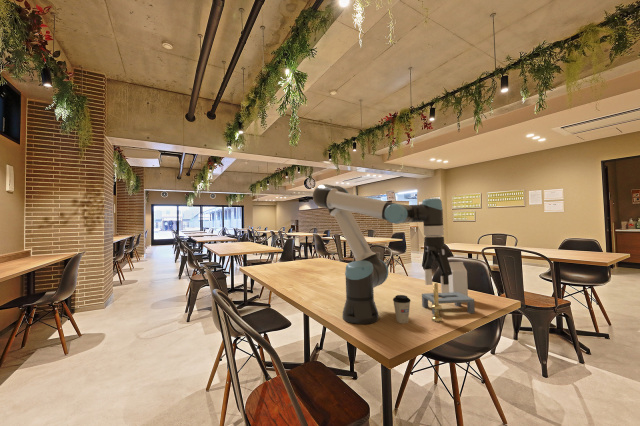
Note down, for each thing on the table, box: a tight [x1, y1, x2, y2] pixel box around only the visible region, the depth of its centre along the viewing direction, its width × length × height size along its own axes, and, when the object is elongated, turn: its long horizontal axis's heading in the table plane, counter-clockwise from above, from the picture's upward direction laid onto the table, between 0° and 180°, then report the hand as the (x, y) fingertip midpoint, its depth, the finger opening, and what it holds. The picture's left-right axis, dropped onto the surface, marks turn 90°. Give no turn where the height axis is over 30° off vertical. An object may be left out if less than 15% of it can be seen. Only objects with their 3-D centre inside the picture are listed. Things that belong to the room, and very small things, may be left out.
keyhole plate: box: [421, 292, 476, 315], centre depth 123 cm, size 18×12×6 cm, turn 94°
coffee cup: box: [392, 294, 412, 324], centre depth 111 cm, size 7×7×10 cm
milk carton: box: [448, 261, 469, 297], centre depth 138 cm, size 7×7×19 cm
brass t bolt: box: [431, 282, 443, 323], centre depth 111 cm, size 4×4×15 cm
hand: (436, 288), depth 110 cm, fingers open, 13 cm apart
